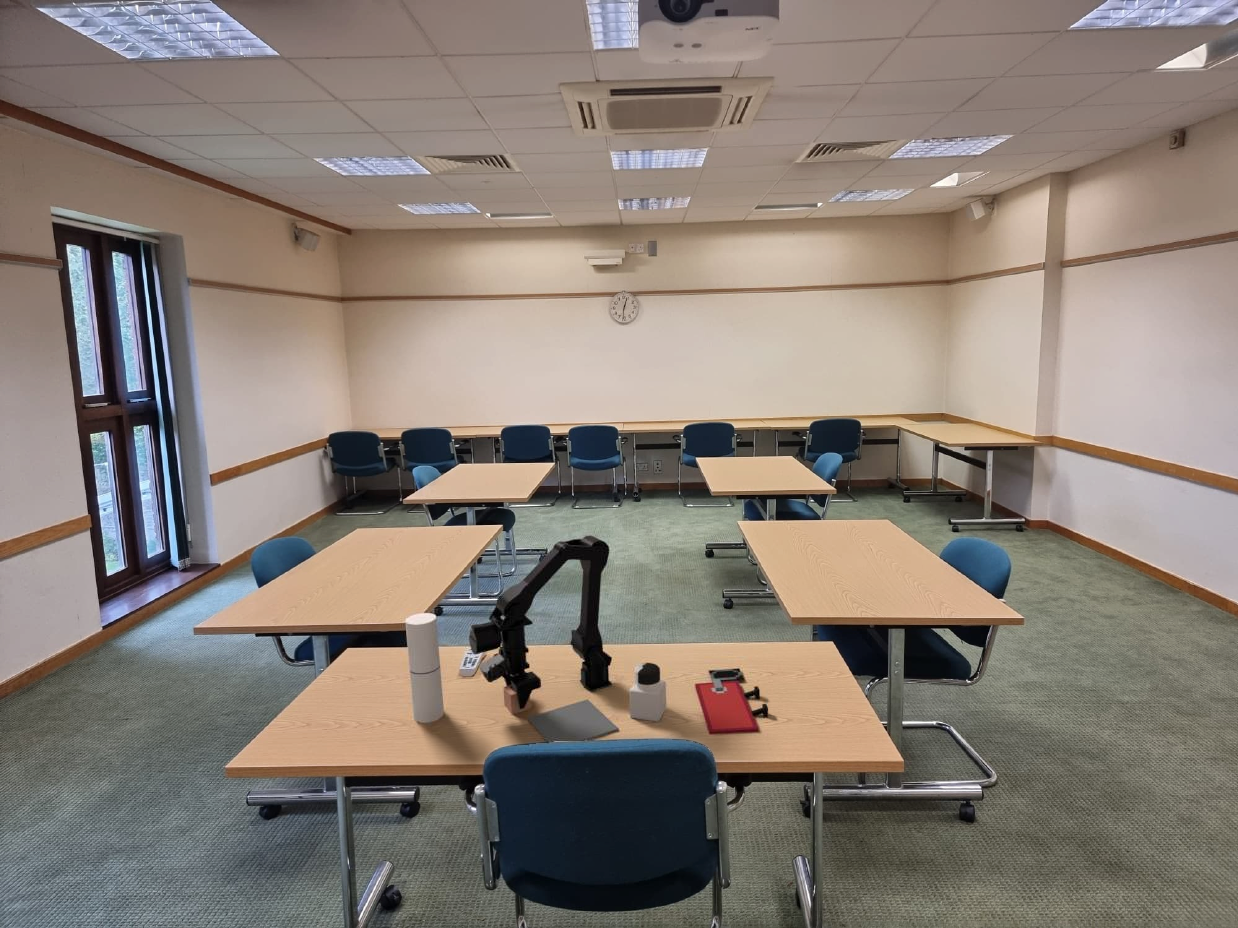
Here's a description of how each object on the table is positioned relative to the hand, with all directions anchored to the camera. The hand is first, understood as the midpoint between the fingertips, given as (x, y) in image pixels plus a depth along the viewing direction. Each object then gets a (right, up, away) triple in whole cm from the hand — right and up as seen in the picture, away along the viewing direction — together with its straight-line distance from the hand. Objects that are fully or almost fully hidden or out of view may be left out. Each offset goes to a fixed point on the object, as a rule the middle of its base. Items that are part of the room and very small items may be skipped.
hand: (517, 702), depth 175 cm
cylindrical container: (-21, -2, -2) cm, 22 cm away
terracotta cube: (0, -1, 0) cm, 1 cm away
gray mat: (+14, -2, -9) cm, 17 cm away
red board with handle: (+53, 0, 0) cm, 53 cm away
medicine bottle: (+32, -1, -5) cm, 33 cm away
